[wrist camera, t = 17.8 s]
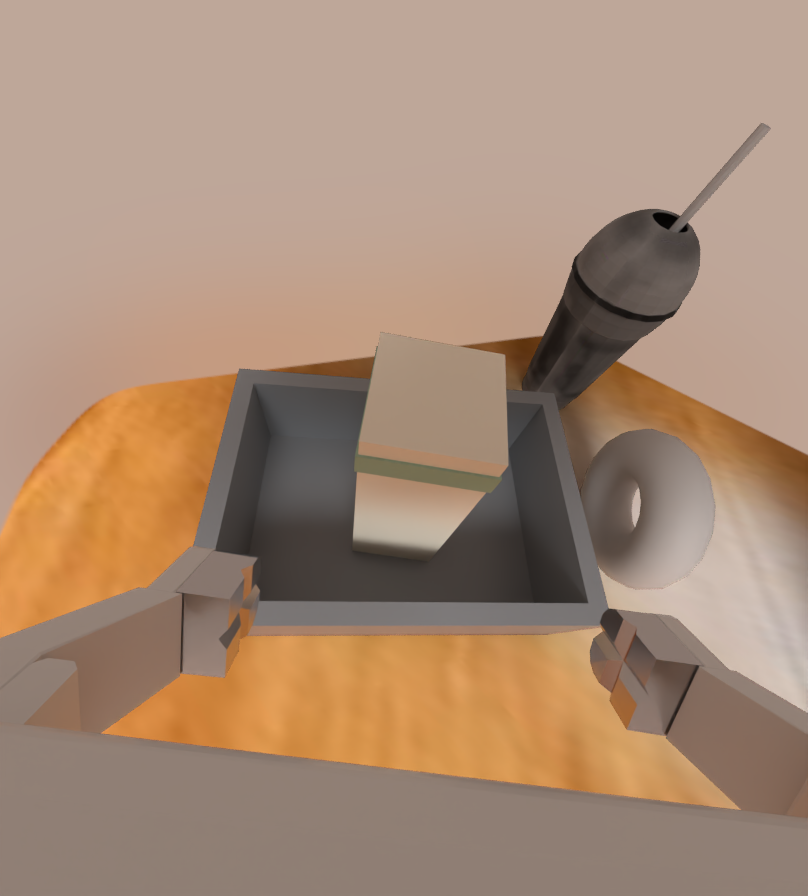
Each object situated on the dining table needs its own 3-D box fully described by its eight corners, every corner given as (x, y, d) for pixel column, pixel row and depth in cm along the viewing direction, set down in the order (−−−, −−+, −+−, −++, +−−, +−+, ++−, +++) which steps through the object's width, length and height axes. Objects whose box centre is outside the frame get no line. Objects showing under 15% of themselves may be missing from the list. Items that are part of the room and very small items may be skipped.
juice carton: (435, 490, 27) (507, 353, 15) (430, 563, 25) (511, 469, 13) (363, 478, 27) (378, 329, 15) (350, 551, 24) (355, 443, 12)
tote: (513, 445, 31) (554, 393, 25) (546, 634, 25) (612, 625, 18) (261, 430, 29) (239, 368, 23) (219, 635, 22) (172, 625, 16)
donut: (562, 467, 31) (646, 392, 22) (602, 473, 31) (701, 401, 23) (578, 598, 26) (695, 566, 17) (626, 604, 26) (765, 576, 18)
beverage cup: (500, 358, 36) (644, 77, 19) (571, 361, 37) (770, 98, 20) (516, 423, 32) (711, 151, 15) (594, 424, 34) (859, 172, 16)
